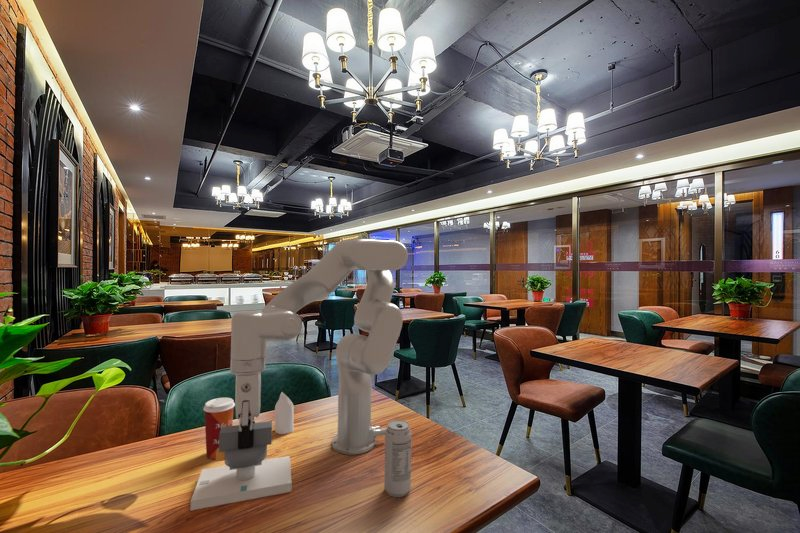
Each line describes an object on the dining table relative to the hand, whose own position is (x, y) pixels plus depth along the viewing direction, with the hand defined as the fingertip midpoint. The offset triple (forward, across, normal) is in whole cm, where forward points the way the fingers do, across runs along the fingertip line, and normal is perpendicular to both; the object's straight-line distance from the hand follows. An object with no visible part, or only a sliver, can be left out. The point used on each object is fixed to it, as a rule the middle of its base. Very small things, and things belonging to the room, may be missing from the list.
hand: (246, 442), depth 81 cm
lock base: (+10, 0, 0) cm, 10 cm away
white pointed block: (+10, +26, -9) cm, 29 cm away
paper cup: (+10, +17, +8) cm, 21 cm away
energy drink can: (+10, -13, -33) cm, 37 cm away
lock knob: (+3, 0, 0) cm, 3 cm away
